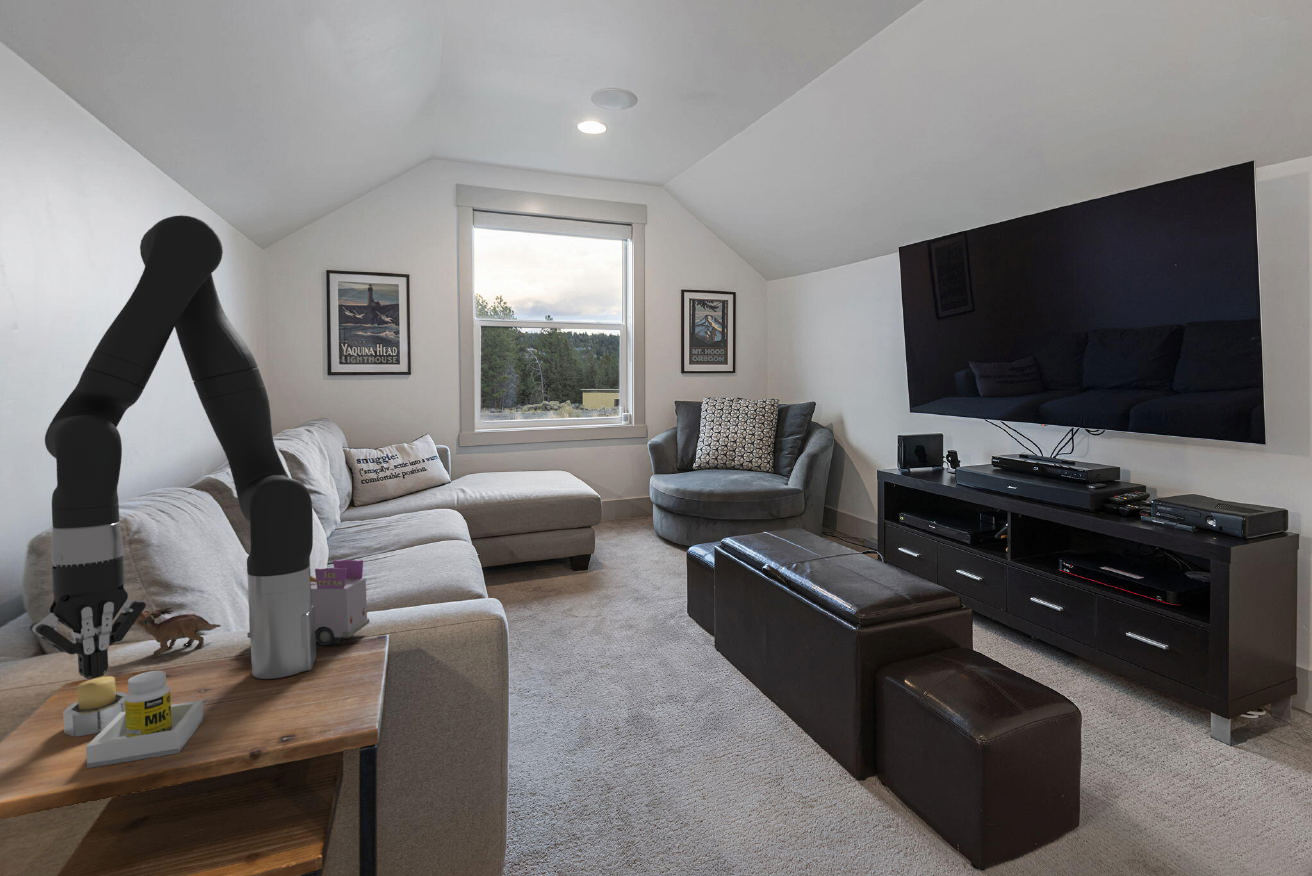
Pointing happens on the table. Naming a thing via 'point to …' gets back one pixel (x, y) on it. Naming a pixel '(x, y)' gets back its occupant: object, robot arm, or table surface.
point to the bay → (144, 738)
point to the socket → (91, 717)
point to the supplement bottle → (148, 704)
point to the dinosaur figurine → (173, 628)
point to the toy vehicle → (338, 601)
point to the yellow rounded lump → (96, 693)
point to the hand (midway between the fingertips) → (93, 677)
